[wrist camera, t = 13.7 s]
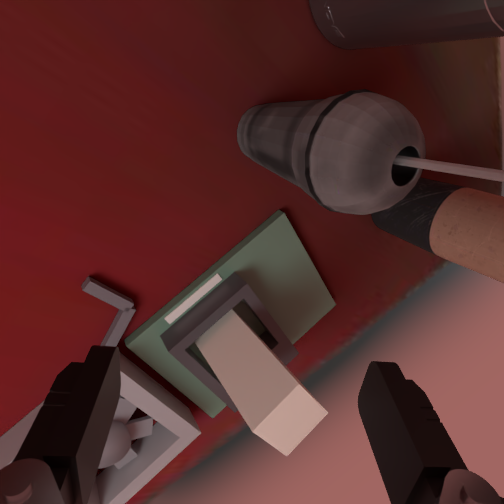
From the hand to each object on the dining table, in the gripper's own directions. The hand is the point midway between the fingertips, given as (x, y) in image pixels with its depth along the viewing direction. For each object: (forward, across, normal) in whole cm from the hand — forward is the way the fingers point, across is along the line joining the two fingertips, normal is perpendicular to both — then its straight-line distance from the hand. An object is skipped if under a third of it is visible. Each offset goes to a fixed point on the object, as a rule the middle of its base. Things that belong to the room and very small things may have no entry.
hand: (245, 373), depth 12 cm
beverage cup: (+24, -2, -3) cm, 25 cm away
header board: (+22, -2, +15) cm, 27 cm away
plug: (+20, 0, +15) cm, 25 cm away
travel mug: (+31, -18, +4) cm, 36 cm away
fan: (+16, +10, +19) cm, 27 cm away
